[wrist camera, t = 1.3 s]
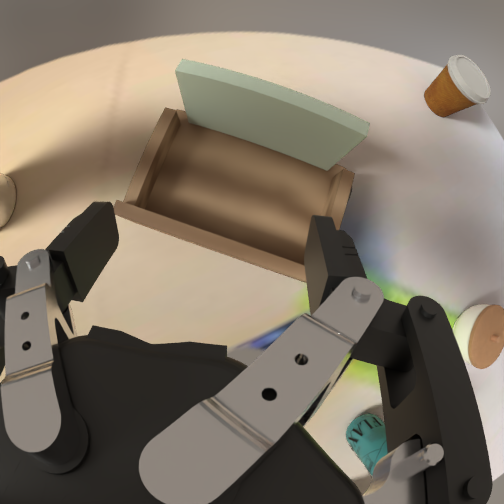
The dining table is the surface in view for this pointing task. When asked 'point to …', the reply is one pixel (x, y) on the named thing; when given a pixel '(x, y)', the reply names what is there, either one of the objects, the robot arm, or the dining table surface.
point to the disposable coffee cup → (457, 87)
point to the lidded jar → (480, 334)
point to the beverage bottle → (368, 439)
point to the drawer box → (232, 194)
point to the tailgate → (268, 114)
